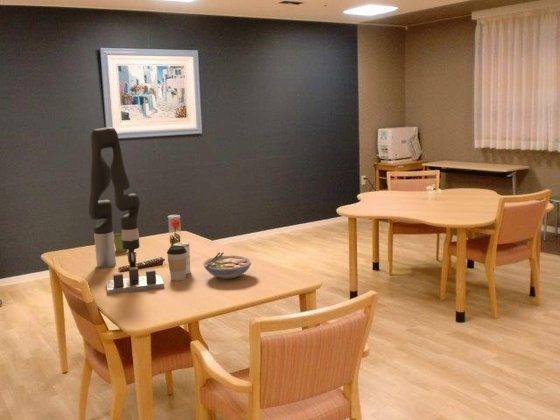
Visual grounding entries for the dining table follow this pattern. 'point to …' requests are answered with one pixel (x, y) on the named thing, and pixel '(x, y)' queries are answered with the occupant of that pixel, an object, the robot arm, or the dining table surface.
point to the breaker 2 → (150, 276)
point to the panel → (134, 285)
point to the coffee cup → (177, 262)
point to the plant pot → (118, 242)
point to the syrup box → (186, 246)
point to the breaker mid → (133, 274)
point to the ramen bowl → (227, 265)
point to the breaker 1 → (118, 279)
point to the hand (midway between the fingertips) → (133, 274)
